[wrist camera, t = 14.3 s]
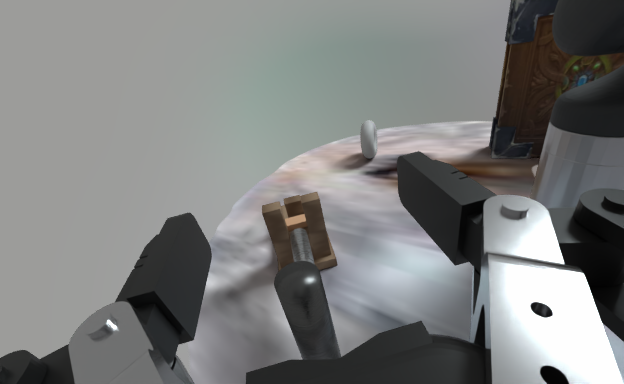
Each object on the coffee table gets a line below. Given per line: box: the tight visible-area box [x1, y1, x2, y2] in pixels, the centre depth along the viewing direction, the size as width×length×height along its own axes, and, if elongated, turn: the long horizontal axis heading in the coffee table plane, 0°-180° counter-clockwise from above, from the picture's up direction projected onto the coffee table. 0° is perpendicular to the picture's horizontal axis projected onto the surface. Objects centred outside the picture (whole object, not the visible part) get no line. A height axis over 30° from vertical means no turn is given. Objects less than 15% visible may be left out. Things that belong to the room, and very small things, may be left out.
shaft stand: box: [262, 192, 337, 271], centre depth 46 cm, size 9×19×12 cm, turn 10°
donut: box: [360, 120, 377, 158], centre depth 70 cm, size 10×4×10 cm, turn 163°
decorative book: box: [489, 0, 624, 159], centre depth 49 cm, size 23×7×30 cm, turn 65°
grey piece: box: [274, 228, 341, 360], centre depth 27 cm, size 3×18×13 cm, turn 10°
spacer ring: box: [285, 214, 307, 231], centre depth 42 cm, size 7×2×6 cm, turn 100°
